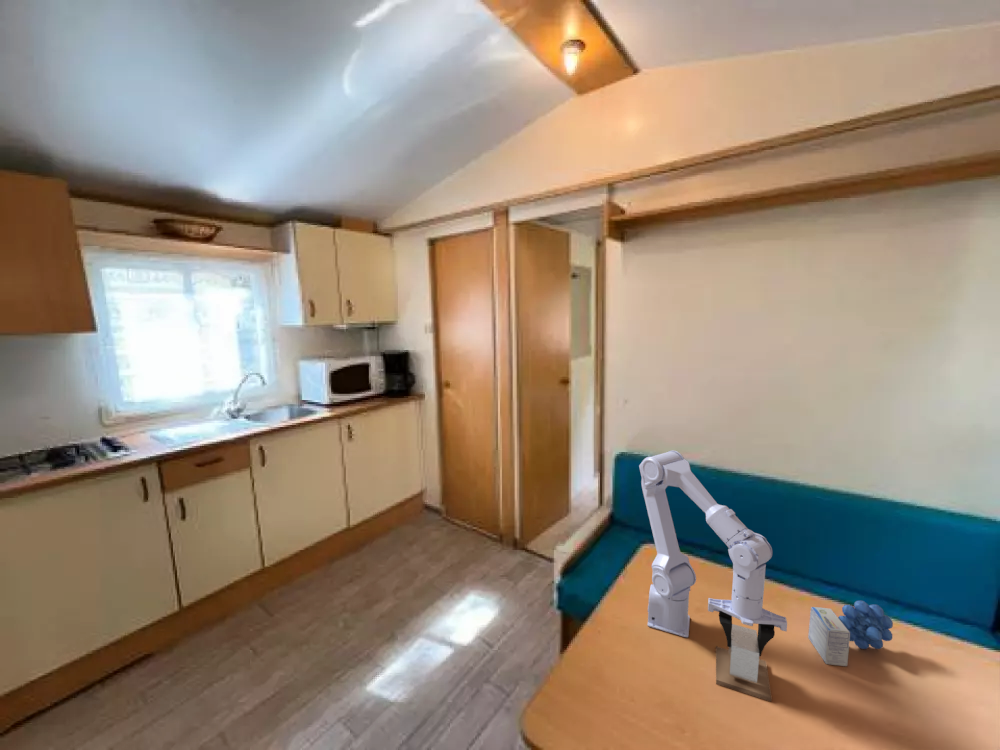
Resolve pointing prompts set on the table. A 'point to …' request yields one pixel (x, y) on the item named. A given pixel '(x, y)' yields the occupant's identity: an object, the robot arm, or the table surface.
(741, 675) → the brushed steel brick
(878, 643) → the grapes
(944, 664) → the table surface
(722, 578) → the table surface
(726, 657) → the thin tan panel
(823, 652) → the medicine box
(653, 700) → the table surface
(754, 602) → the robot arm
